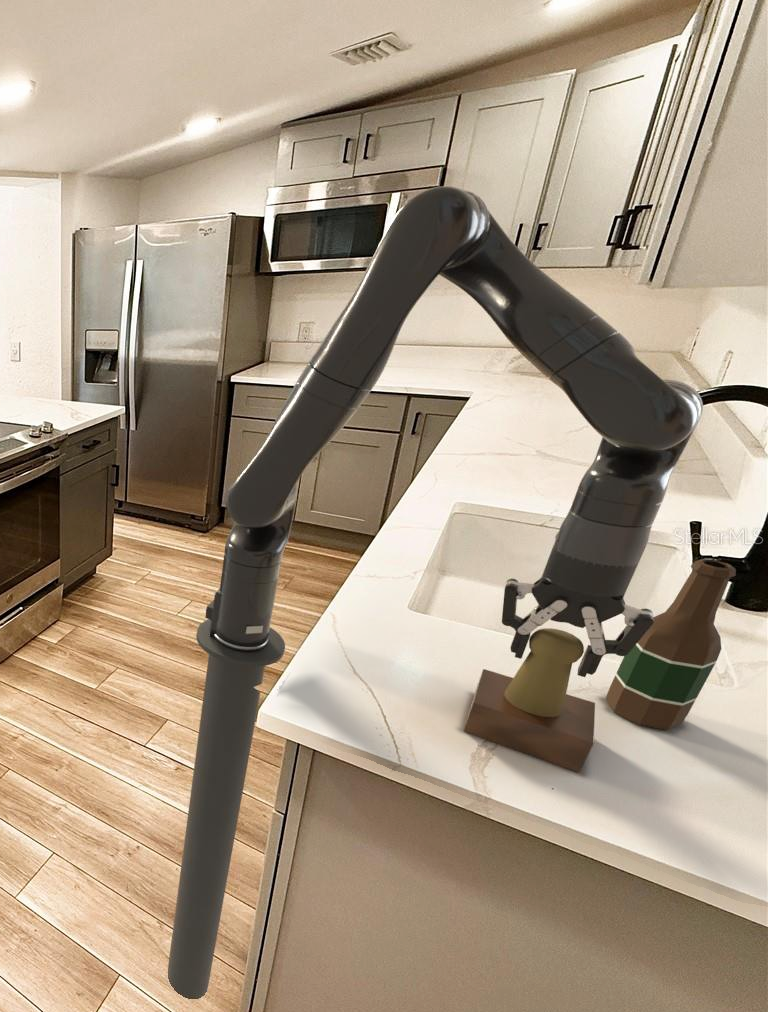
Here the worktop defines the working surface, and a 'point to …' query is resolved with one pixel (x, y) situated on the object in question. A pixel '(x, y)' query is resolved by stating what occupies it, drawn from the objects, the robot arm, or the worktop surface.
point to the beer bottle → (673, 653)
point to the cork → (545, 673)
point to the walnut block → (532, 724)
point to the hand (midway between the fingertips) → (549, 663)
